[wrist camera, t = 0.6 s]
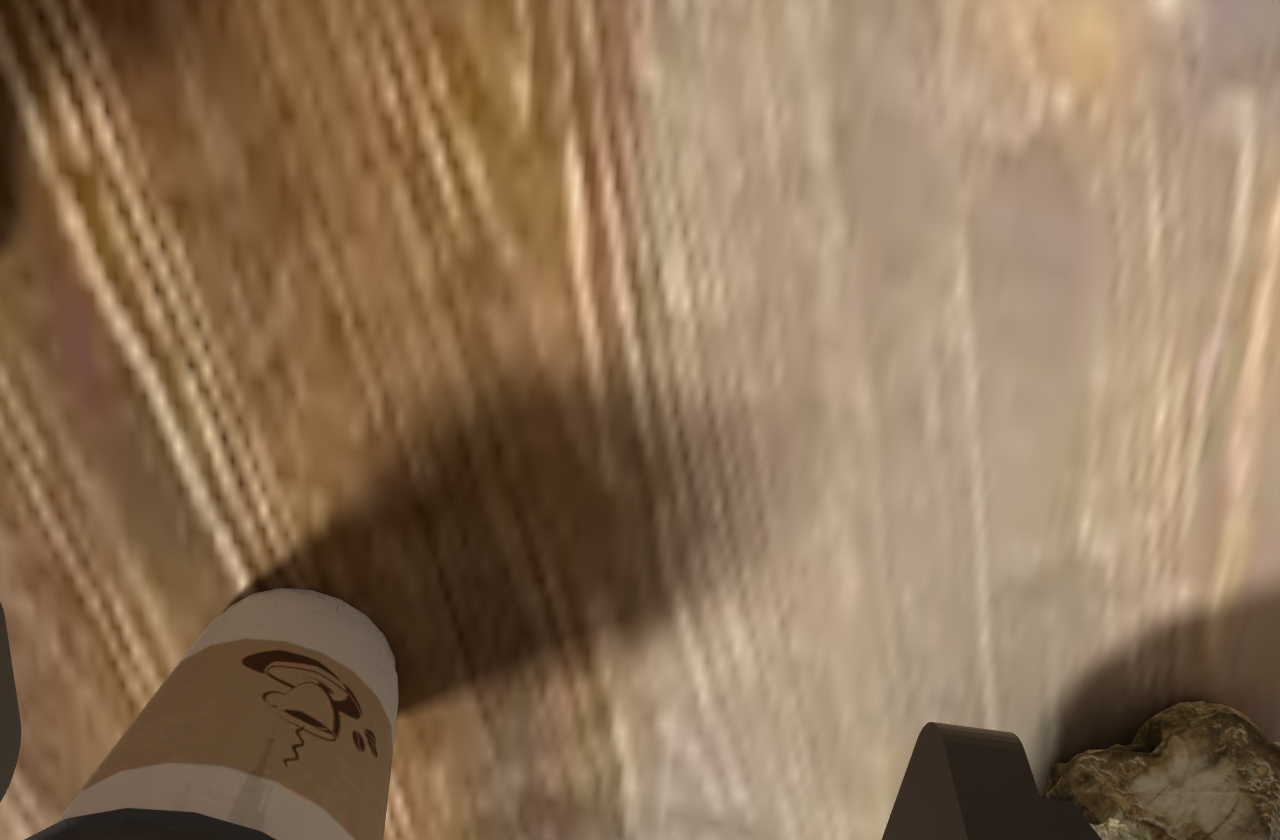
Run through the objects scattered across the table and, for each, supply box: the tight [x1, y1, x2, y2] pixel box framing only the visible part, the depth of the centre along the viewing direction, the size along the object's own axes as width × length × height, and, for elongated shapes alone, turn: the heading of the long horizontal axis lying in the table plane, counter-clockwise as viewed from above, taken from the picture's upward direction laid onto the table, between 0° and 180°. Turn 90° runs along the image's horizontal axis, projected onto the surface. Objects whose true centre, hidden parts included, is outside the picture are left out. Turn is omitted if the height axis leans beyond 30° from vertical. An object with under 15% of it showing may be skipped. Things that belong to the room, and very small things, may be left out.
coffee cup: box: [25, 588, 399, 840], centre depth 39 cm, size 11×11×15 cm
